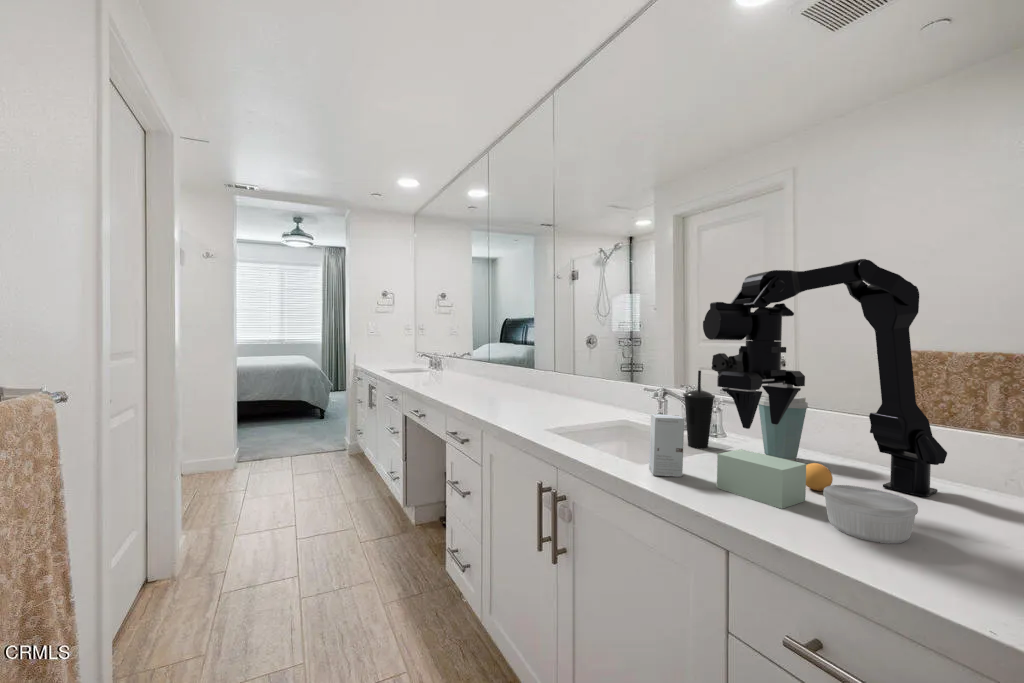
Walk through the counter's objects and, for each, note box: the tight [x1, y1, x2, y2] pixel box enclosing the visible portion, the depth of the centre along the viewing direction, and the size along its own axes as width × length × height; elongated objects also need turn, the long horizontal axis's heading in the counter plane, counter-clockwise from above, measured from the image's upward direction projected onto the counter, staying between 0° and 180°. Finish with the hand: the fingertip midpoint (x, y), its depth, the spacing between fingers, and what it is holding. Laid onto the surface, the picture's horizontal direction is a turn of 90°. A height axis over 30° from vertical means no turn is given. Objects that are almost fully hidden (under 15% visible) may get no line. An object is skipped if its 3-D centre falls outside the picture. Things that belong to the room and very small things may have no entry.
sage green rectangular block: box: [716, 448, 807, 510], centre depth 83 cm, size 8×12×6 cm, turn 32°
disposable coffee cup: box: [758, 396, 809, 462], centre depth 109 cm, size 11×11×15 cm
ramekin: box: [823, 484, 919, 544], centre depth 68 cm, size 11×11×5 cm
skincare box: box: [648, 413, 685, 478], centre depth 95 cm, size 6×4×12 cm
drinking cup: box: [683, 370, 716, 450], centre depth 119 cm, size 8×8×20 cm
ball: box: [806, 462, 834, 492], centre depth 86 cm, size 5×5×5 cm
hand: (760, 426), depth 83 cm, fingers open, 9 cm apart
